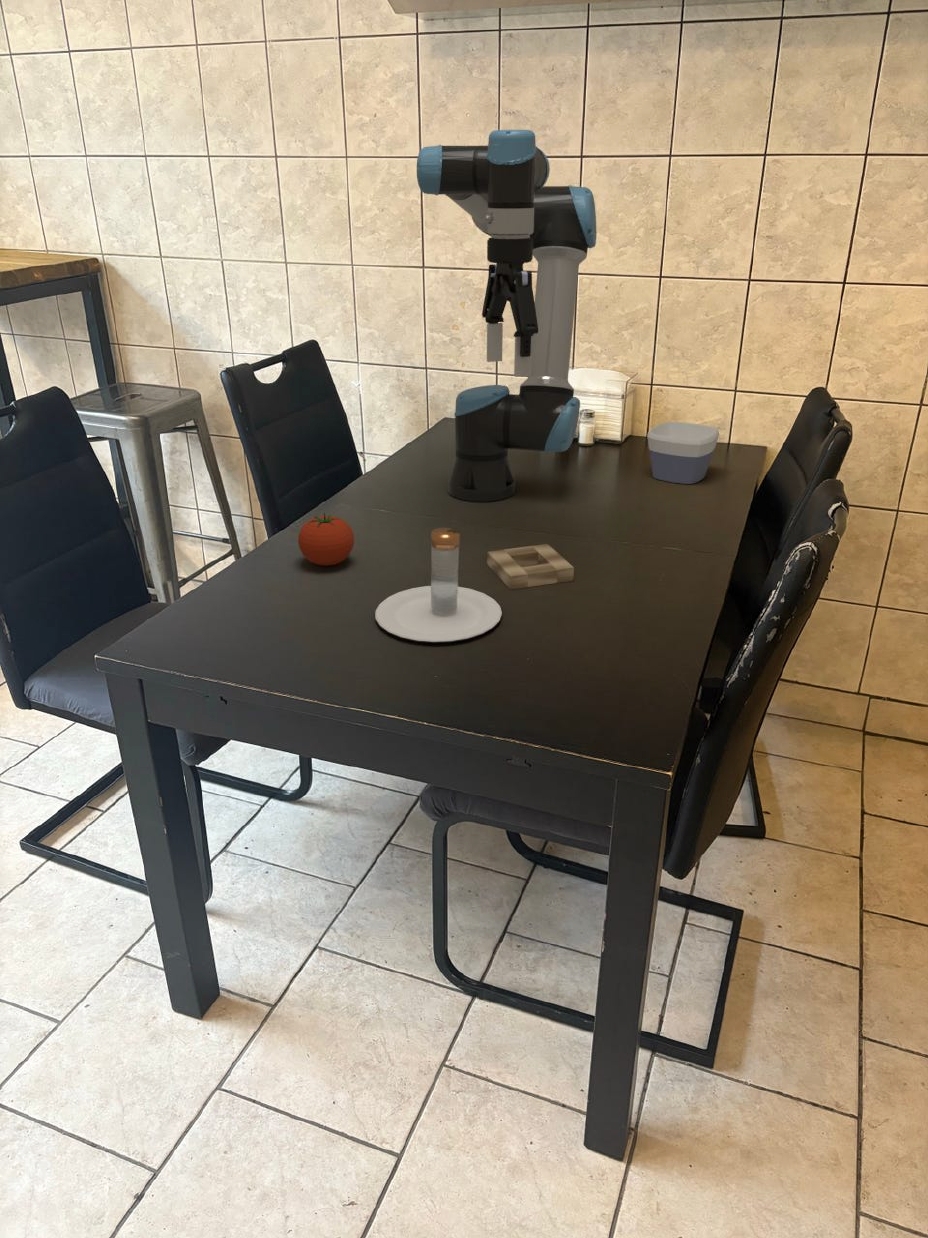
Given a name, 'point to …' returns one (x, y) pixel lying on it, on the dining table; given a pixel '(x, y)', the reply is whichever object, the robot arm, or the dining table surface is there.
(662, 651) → the dining table surface
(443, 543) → the clear jar
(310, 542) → the tomato
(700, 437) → the bowl
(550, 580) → the socket block
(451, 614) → the plate
